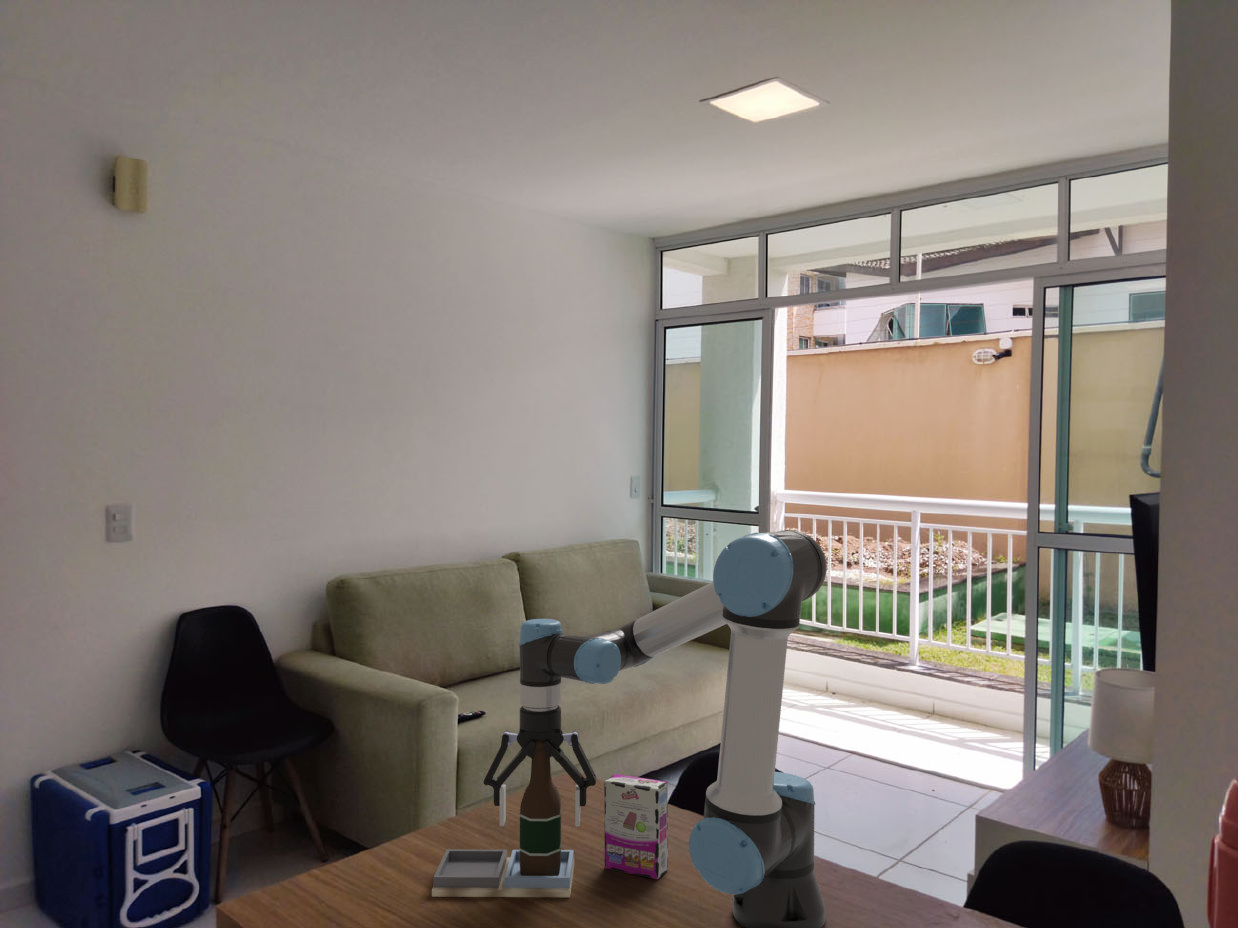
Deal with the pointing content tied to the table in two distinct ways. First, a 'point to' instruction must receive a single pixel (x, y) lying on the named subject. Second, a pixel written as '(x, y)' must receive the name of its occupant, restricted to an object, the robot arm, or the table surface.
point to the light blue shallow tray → (518, 881)
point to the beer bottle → (540, 820)
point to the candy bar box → (636, 825)
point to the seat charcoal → (470, 869)
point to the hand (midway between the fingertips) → (540, 823)
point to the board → (503, 890)
